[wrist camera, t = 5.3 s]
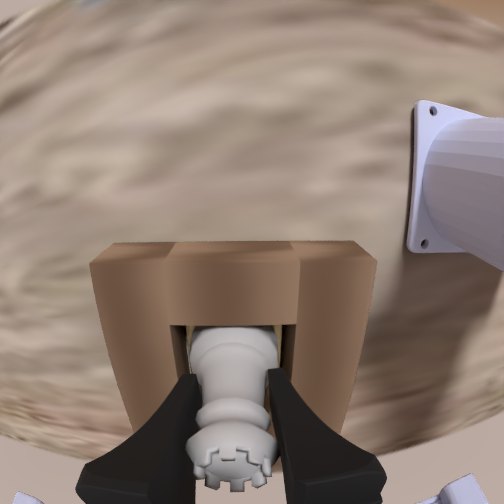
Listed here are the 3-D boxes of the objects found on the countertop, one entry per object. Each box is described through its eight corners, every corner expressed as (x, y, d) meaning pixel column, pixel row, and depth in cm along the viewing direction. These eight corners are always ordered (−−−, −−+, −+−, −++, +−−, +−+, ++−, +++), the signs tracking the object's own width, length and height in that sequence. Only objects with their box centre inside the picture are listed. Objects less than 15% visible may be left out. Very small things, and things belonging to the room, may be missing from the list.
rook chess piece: (229, 387, 17) (227, 511, 9) (172, 337, 16) (135, 463, 8) (294, 347, 16) (327, 474, 8) (239, 287, 15) (242, 415, 7)
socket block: (353, 240, 15) (377, 260, 12) (328, 403, 19) (339, 435, 16) (113, 243, 15) (89, 263, 12) (146, 404, 18) (136, 437, 15)
